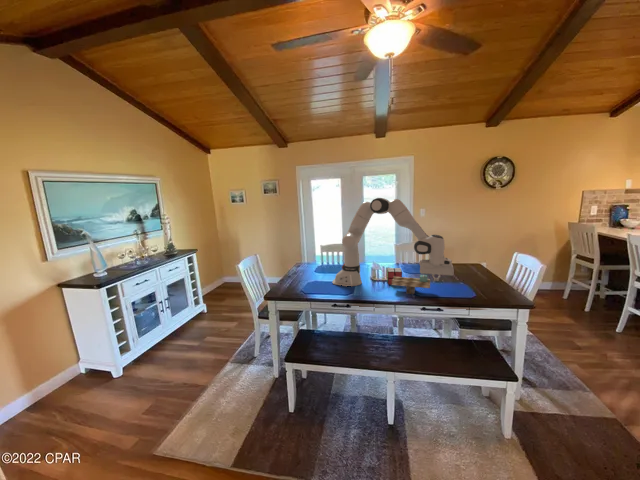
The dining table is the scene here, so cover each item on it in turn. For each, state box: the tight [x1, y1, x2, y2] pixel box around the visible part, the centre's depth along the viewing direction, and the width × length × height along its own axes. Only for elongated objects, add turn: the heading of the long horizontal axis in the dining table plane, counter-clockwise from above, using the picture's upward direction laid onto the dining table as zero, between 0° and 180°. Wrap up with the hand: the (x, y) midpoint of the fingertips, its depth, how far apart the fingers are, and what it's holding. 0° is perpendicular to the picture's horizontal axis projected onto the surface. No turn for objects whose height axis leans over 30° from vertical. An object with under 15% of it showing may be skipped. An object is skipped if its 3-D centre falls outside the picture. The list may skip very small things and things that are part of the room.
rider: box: [419, 274, 428, 282], centre depth 179 cm, size 4×5×5 cm
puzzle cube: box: [386, 267, 403, 286], centre depth 203 cm, size 10×10×10 cm
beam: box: [391, 276, 431, 295], centre depth 183 cm, size 24×9×9 cm, turn 67°
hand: (436, 280), depth 177 cm, fingers closed
